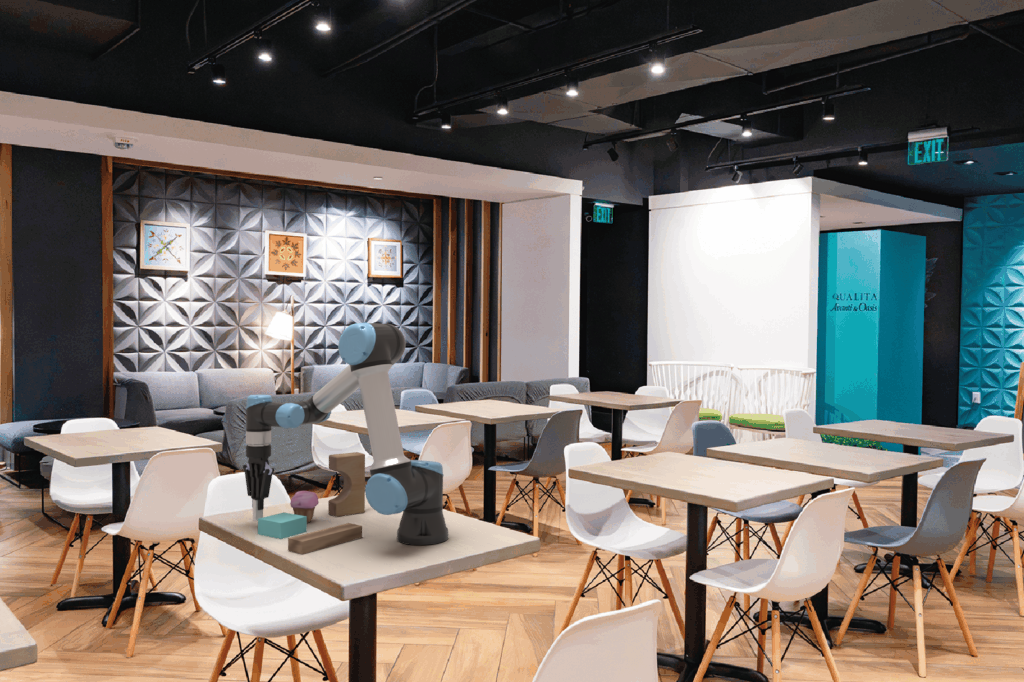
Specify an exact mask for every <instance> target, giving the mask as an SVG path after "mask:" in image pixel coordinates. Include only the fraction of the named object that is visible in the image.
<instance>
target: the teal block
mask: <svg viewBox="0 0 1024 682" xmlns="http://www.w3.org/2000/svg"><path fill="white" fill-rule="evenodd" d="M307 527H308V523H307V516H301V515H296V514H294V513H290V512H279V513H276V514H271V515H268V516H263V518H259V519H258V521H257V535H258V534H259V536H263V535H264V537H268V536H269V538H273V537H274V539H277V538H279V539H278V540H283V538H284V539H286V538H287V539H288V538H291V537H295V536H298V535H302V534H306V533H308V532H307V531H308V530H307V529H308V528H307ZM290 536H291V537H290Z"/></svg>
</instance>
